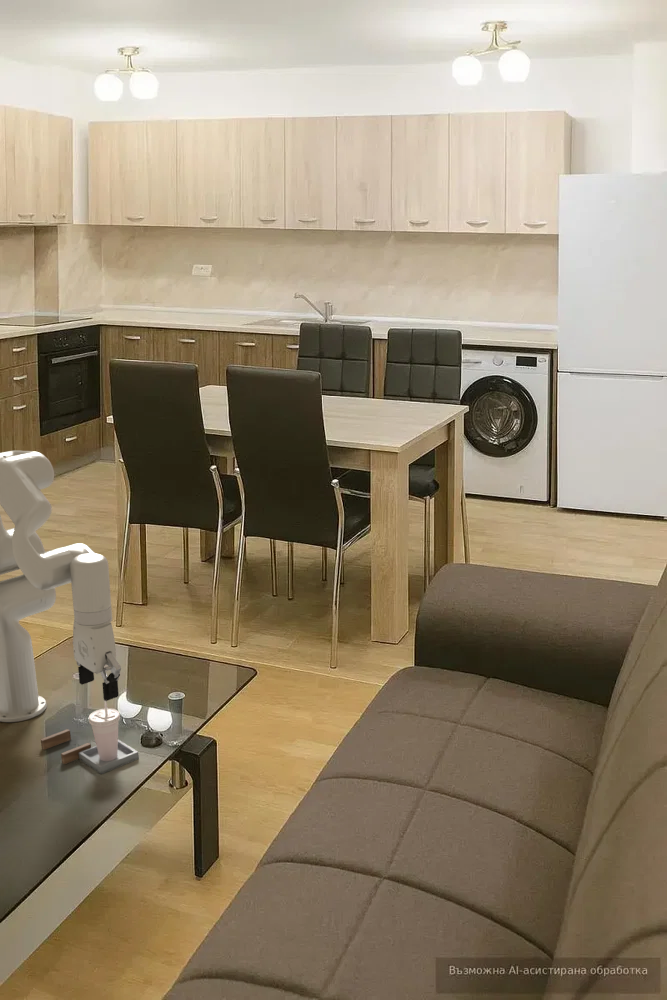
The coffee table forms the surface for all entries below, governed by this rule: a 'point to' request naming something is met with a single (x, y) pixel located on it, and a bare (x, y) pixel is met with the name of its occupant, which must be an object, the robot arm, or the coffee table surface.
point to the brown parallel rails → (62, 738)
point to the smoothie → (105, 732)
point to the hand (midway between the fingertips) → (98, 690)
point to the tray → (93, 760)
